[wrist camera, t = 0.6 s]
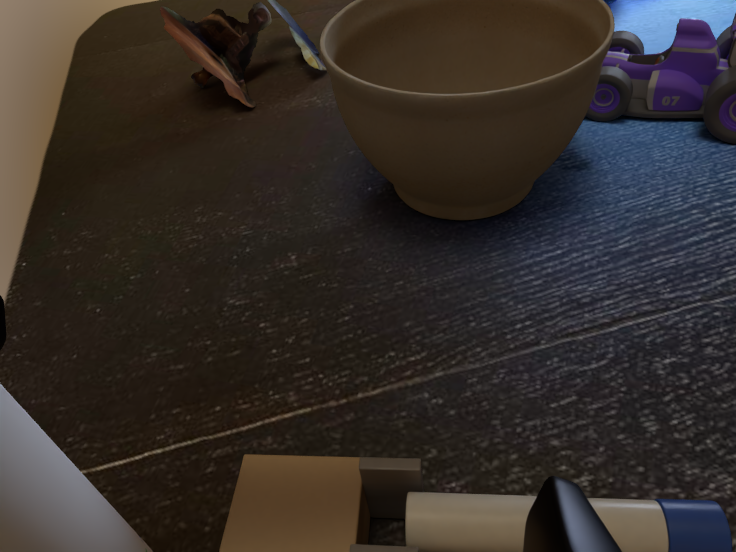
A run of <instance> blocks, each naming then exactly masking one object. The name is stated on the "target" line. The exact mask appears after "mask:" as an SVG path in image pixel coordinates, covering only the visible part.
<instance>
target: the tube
mask: <svg viewBox="0 0 736 552" xmlns="http://www.w3.org/2000/svg"><path fill="white" fill-rule="evenodd" d="M0 552H153V551H152V550H151V549H150V547H149V546H148V545H147V544H146V543H145V542H144V541H143V540H142V539H141V538H140V536H139V535H138V534H137V533H136V532H135V531H134V530H133V529H132V528H131V527H130V525H129V524H128V523H127V522H126V521H125V520H124V519H123V518H122V517H121V516H120V514H119V513H118V512H117V511H116V510H115V509H114V508H113V507H112V506H111V505H110V504H109V502H108V501H107V500H106V499H105V498H104V497H103V496H102V495H101V494H100V493H99V491H98V490H97V489H96V488H95V487H94V486H93V485H92V484H91V483H90V482H89V480H88V479H87V478H86V477H85V476H84V475H83V474H82V473H81V472H80V471H79V470H78V468H77V467H76V466H75V465H74V464H73V463H72V462H71V461H70V460H69V459H68V457H67V456H66V455H65V454H64V453H63V452H62V451H61V450H60V449H59V448H58V446H57V445H56V444H55V443H54V442H53V441H52V440H51V439H50V438H49V437H48V436H47V434H46V433H45V432H44V431H43V430H42V429H41V428H40V427H39V426H38V425H37V423H36V422H35V421H34V420H33V419H32V418H31V417H30V416H29V415H28V414H27V412H26V411H25V410H24V409H23V408H22V407H21V406H20V405H19V404H18V403H17V402H16V400H15V399H14V398H13V397H12V396H11V395H10V394H9V393H8V392H7V391H6V389H5V388H4V387H3V386H2V385H1V384H0Z"/></svg>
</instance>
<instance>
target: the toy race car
mask: <svg viewBox="0 0 736 552" xmlns="http://www.w3.org/2000/svg"><path fill="white" fill-rule="evenodd" d="M676 30H677V32H676V36H675V39H674V42H673V44H672V45H671V47H670V48H669V49H667V50H666V51H664V52H662V53H657V54H648V55H644V46H643V44H642V42H641V40H640V39H639V38H638V37H637V36H636V35H635V34H633V33H631V32H627V31H616V32H614V33H613V37H612V42H611V45H610V48H609V50H608V52H607V55H606V57H605V59H604V60H603V64H602V69H601V73H600V77H599V81H598V84H597V87H596V91H595V94H594V96H593V99H592V102H591V104H590V107H589V109H588V111H587V113H586V115H585V116H586V117H588V118H590V119H592V120H595V121H610V120H613V119H616V118H617V117H619V116H620V115H625V116H634V117H644V118H704V123H705V125H706V127H707V129H708V130H709V132H710V133H711V134H712V135H714V136H715V137H716V138H718V139H720V140H722V141H724V142H728V143H733V144H736V14H735V17H734V20H733V23H732V25H731V26H730V27H728V28H727V29H726V30H724V31H723V32H722V33H721V34H720V36H719V37H718V38H717V40H716V39H715V37H714V35H713V33H712V31H711V29H710V26H709V25H708V24H707V23H706V22H705V21H702V20H699V19H683V18H681V19H680V20H679V23H678V24H677V28H676Z"/></svg>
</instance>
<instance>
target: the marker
mask: <svg viewBox="0 0 736 552" xmlns="http://www.w3.org/2000/svg"><path fill="white" fill-rule="evenodd" d="M536 497H537V496H516V495H487V494H458V493H429V492H408V494H407V499H406V518H405V534H406V547H418V549H419V552H523V544H524V533H525V524H526V520H527V516H528V513H529V511H530V509H531V507H532V505H533V503H534V501H535V499H536ZM587 499H588V501H589V502H590V504H591V505H592V507H593V508H594V510H595V511H596V513H597V514H598V516H599V517H600V519H601V520H602V522H603V523H604V525H605V526H606V528H607V529H608V531H609V532H610V534H611V535H612V537H613V538H614V540H615V541H616V543H617V545H618V546H619V548H620V549H621V551H622V552H732V539H731V533H730V528H729V525H728V521H727V519H726V516H725V514H724V512H723V510H722V508H721V507H720V505H719V504H718V503H716V502H714V501H706V500H677V499H655V500H632V499H603V498H587Z"/></svg>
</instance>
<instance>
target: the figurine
mask: <svg viewBox="0 0 736 552" xmlns="http://www.w3.org/2000/svg"><path fill="white" fill-rule="evenodd" d="M268 1H269V3H270V4H271V5H272V6H273V7H274V8H275V9H276V11H277V12H278V13H279V14H280V15H281V16H282V17H283V18H284V19H285V20H286V21H287V23H288V24H289V25H290V26H291V27H292V28H293V29H294V30H293V29H292V28H291V27H290V30H291V34H292V35H293V37H294V39H295V41H296V43H297V44H298V45H299V47H302V48H301V51H302V53H303V57H304V59H305V60H306V61H307V62H308V64H309V65H311V66H312V67H314V68H318V69H320V70H326V67H325V66H324V64H323V63H322V61H321V59H320V58H319V57H318V56H317V54H316V53H318V54H319V52H318V50H317V49H316V47H315V45H314V44H313V42H311V41H310V40H309V39H308V37H307V35H306V34H305V33H304V31H303V30H302V29H301V28H300V27H299V26H298V25H297V23H296V22H295V21H294V20H293V18H292V17H291V16H290V14H289V13H288V12H287V10H286V9H285V8H283V7H282V6H280V5H279V4H278V3H277V2H276V0H268ZM160 11H161V16H162V17H163V18H164V21H165V24H166V25H165V27H164V28H165V30H166V31H168V32H169V33H170V34H171V35H172V37H173V38H174V39H175V40H176V41H177V42H178V43H179V44H180V46H181V47H182V48H183V50H184V51H185V52H186V54H187V55H188V57H189V58H190V59H191V61H194V62H197V63H199V64H200V65H202V66H203V70H201V71H200V72H196V73H194V74H193V75H192V76H191V78H192V79H193V80H194V83H195V84H196V85H199V86H200V87H201V88H204V87H205V85H206V83H207V81H208V79H209V78H210V76H213V75H215V76H216V77H218V78H219V79H221V80H222V81H223V82H224V85H225V89H226V90H227V92H228V94H229V95H230V96H232V97H233V98H236V99H239V100H240V102H242V103H243V104H245V105H246V106H248V107H252V108H253V107H255V106H256V103H255V102H254V100H252V99H251V98H249V96H248V95H247V92H248V91H247V89H246V88H245V82H244V71H245V68H246V67H247V65H248V64H249V63H250V61H251V59H250V58H251V56H252V52H253V49H254V48H255V47H256V43H257V37H258V32H259V31H260V30H263V29H264V28H265V27H267V26H268V25H269V24H270V23H271V14H270V12H269V11H268V9H267V8H266V7H265V6H264V5H263V4H262V3H261V2H258V3H256V4H254V5H253V8H252V9H251V10H250V11H249V13H248V19H249V23H248V24H246V23H243V22H242V23H240V22H239V21H238V20H237V19H235V18H233V17H230V16H226V14H225V13H224V11H223V10H220V9H216V10H215V11H213V12H212V13H211V14H210V16H208V17H204V18H203V19H202V20H201V21H200V22H198V23H196V24H195V22H194V21H192V22H190V21H187V20H186V19H185V18H183V17H182V16H180V15H178V14H176V13H175V12H173V11H171V10H170V9H169V8H167V7H163V6H162V7H161V10H160Z"/></svg>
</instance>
